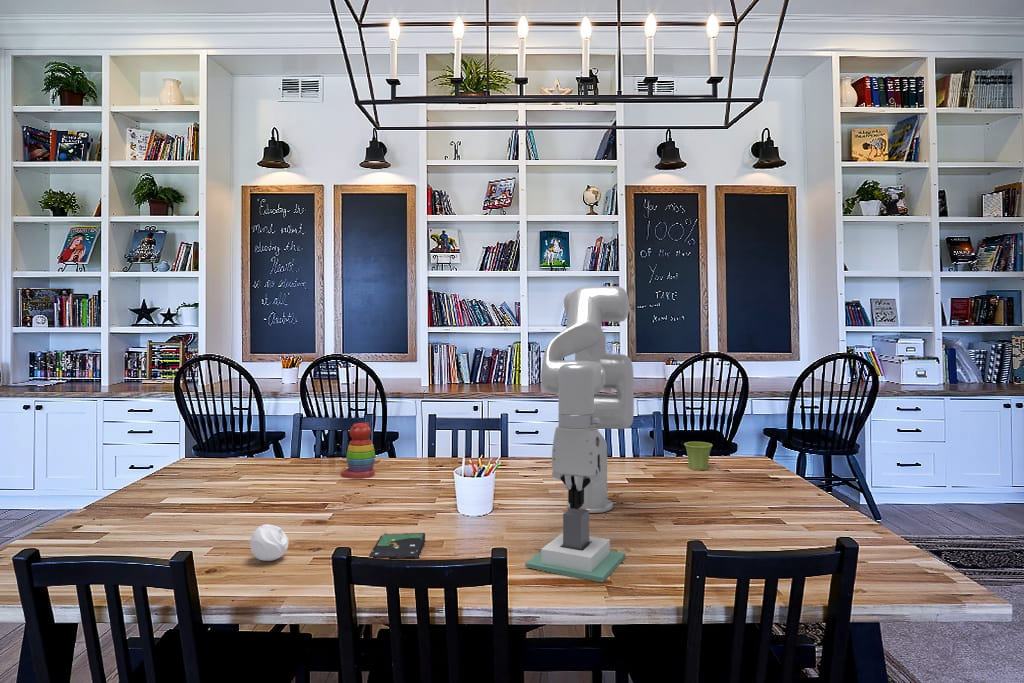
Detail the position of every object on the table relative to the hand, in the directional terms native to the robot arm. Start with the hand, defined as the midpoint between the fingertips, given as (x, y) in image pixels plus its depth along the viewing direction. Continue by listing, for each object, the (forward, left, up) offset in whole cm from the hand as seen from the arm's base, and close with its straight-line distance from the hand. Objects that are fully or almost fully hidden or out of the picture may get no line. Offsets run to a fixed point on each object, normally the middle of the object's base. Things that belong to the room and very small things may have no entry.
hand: (576, 507), depth 137 cm
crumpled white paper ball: (+28, -61, -12) cm, 68 cm away
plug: (0, 0, -11) cm, 11 cm away
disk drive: (+12, -38, -13) cm, 42 cm away
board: (0, 0, -12) cm, 12 cm away
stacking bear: (-41, -94, -12) cm, 103 cm away
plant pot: (-100, +6, -12) cm, 101 cm away
